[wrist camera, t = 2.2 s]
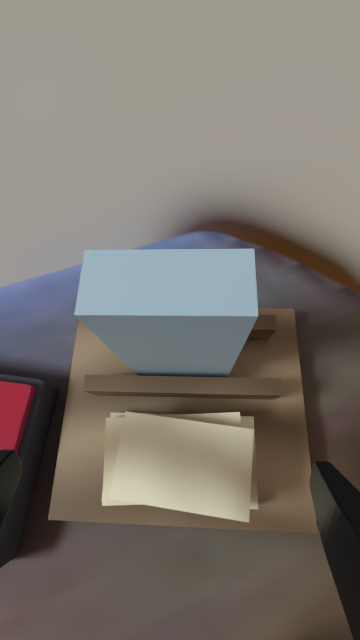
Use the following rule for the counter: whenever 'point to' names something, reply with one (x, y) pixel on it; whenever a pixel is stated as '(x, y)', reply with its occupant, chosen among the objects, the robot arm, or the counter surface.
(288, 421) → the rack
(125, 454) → the offcut stack
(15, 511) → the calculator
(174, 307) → the light blue brick
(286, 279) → the counter surface
